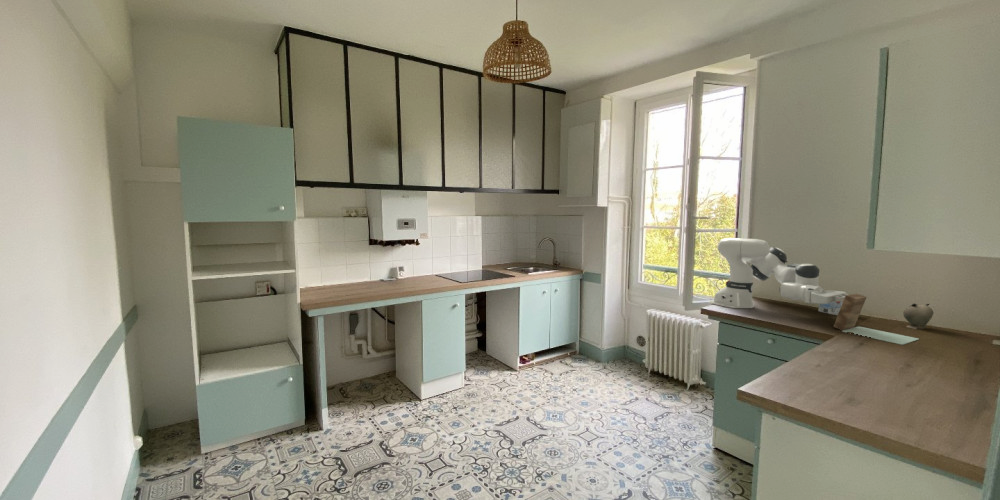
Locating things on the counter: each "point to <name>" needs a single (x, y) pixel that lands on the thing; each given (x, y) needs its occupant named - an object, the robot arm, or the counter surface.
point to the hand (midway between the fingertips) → (849, 300)
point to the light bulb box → (830, 307)
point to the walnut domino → (849, 311)
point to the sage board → (882, 335)
